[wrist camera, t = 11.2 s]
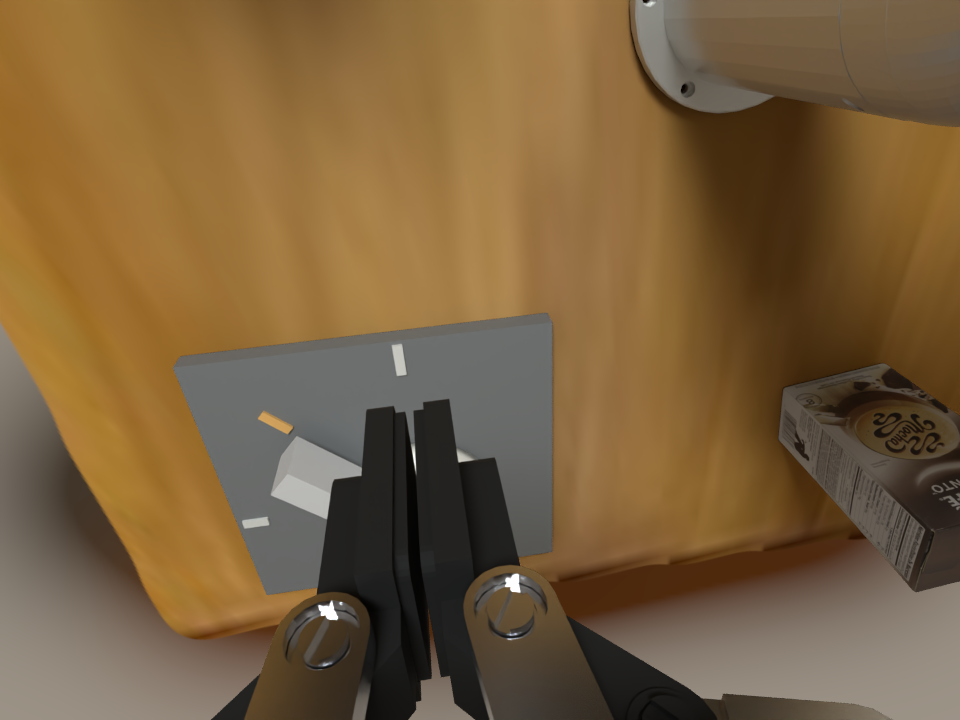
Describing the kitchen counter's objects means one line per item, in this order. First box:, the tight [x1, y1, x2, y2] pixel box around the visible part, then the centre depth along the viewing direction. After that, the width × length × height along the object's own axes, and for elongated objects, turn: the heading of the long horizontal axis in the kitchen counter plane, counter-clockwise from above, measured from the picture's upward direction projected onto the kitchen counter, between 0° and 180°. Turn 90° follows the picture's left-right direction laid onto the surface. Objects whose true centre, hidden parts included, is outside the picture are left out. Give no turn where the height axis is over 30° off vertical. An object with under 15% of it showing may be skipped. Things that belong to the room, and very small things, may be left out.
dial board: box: [173, 313, 552, 595], centre depth 46 cm, size 26×24×2 cm
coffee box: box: [778, 363, 960, 592], centre depth 42 cm, size 9×6×16 cm
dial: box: [271, 436, 478, 519], centre depth 43 cm, size 18×12×5 cm, turn 51°
